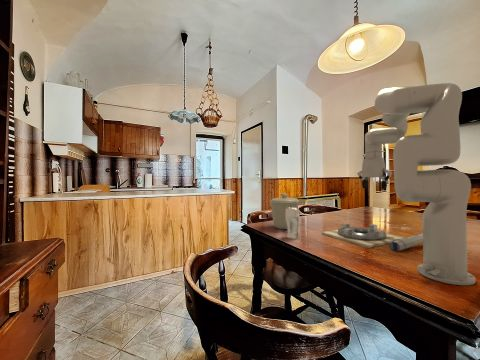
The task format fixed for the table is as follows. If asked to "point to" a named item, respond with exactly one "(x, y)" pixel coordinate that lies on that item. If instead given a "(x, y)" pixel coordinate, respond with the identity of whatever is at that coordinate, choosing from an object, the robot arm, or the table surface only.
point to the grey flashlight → (406, 242)
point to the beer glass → (292, 222)
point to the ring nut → (361, 232)
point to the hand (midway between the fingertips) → (374, 188)
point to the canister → (282, 209)
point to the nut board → (363, 243)
